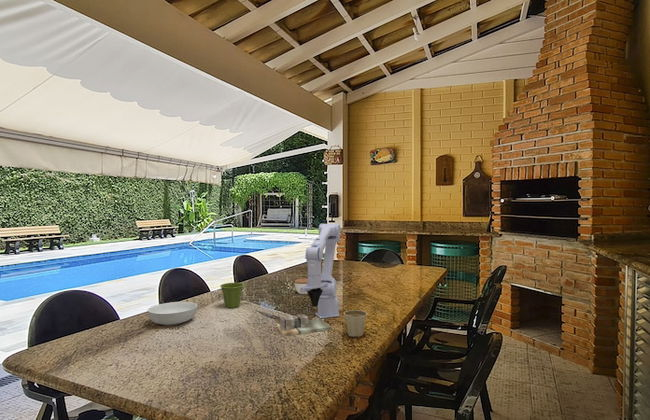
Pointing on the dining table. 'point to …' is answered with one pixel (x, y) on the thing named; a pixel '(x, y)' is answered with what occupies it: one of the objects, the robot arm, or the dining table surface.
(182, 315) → the serving bowl
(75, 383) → the dining table surface
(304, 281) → the lidded jar
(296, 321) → the charcoal brick
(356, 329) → the flower pot
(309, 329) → the base
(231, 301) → the plant pot
